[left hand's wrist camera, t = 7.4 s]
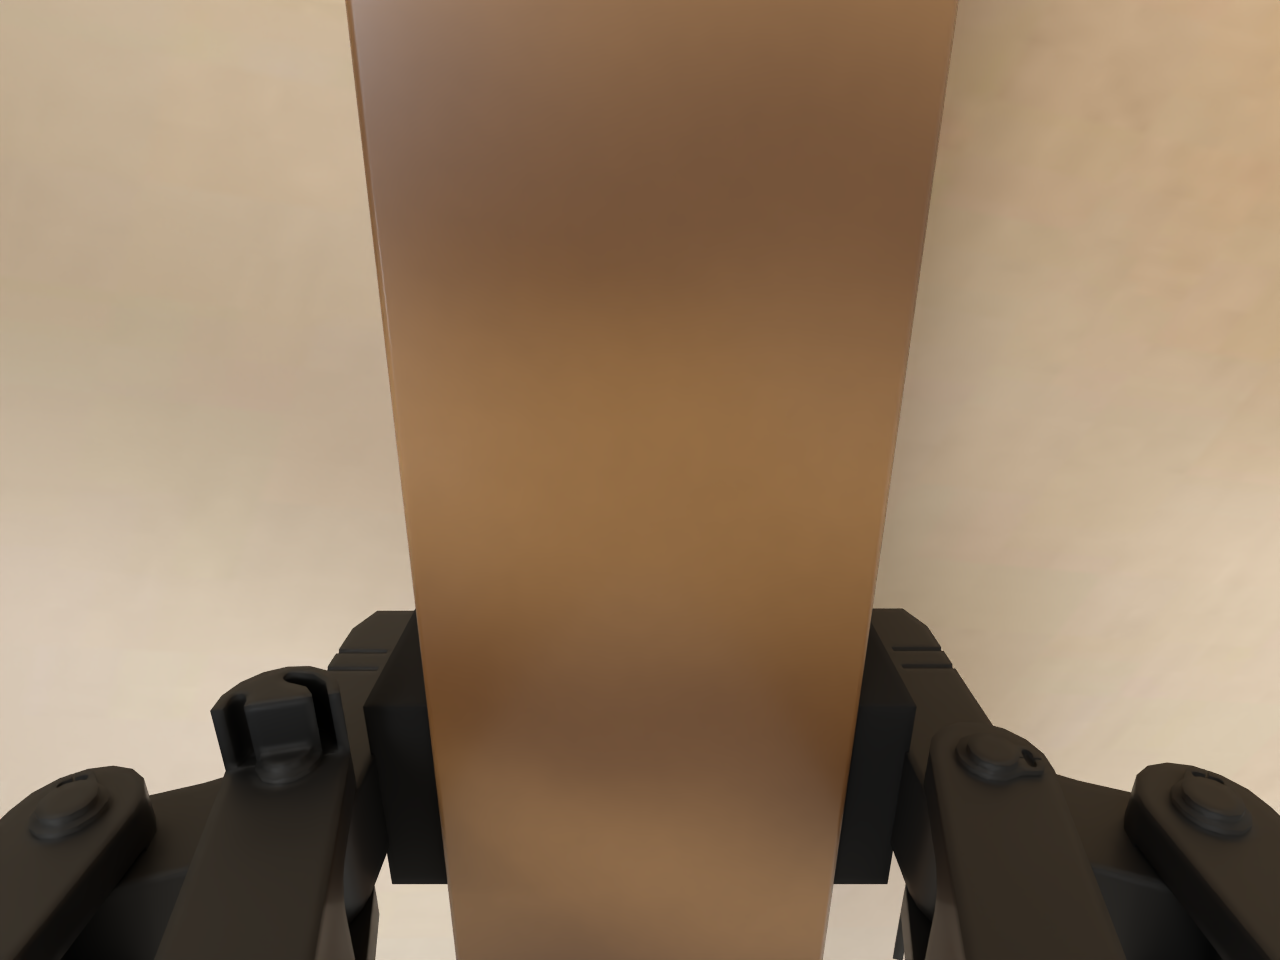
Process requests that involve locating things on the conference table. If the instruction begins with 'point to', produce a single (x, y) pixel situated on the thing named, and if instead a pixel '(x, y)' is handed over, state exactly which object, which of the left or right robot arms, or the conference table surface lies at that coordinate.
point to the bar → (646, 439)
